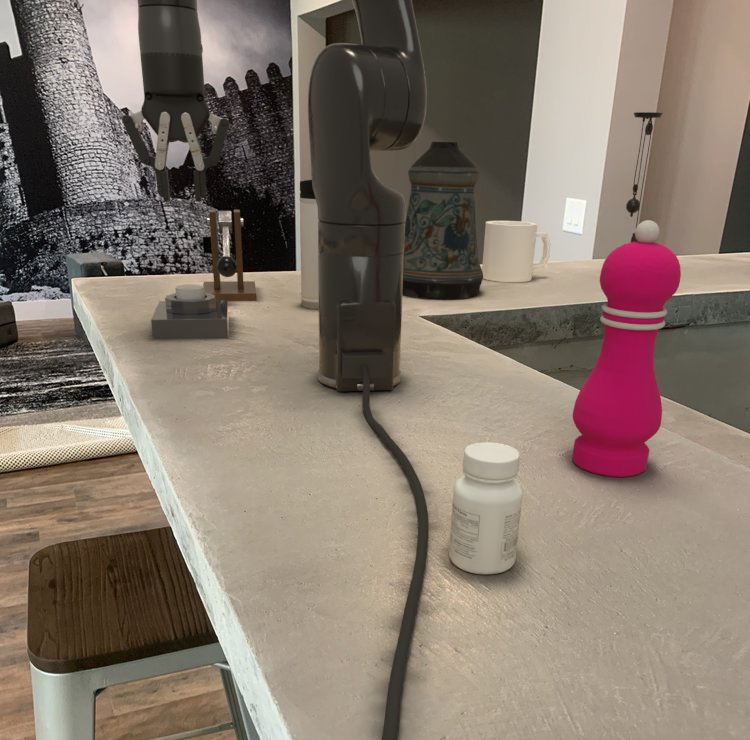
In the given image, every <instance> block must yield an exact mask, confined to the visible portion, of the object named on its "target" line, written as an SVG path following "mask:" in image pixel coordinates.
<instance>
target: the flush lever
mask: <svg viewBox="0 0 750 740" xmlns="http://www.w3.org/2000/svg"><path fill="white" fill-rule="evenodd" d="M217 216H218V219H217V220H218V221H217V222H218V233H219V234H221V235H222V257H219V261H218V263H217V270H218V272H219V273H220V276H222V277H225V278H231V277H233V276H234V275H236V274H237V262H236V260H235V259H234V258H233V257H231V244H230V242H231V240H230V234H233V232H234V231H233V215H232V210H217Z"/></svg>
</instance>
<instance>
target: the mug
mask: <svg viewBox="0 0 750 740" xmlns="http://www.w3.org/2000/svg"><path fill="white" fill-rule="evenodd" d="M484 227H485V228H484V240H483V252H482V264H481V269H482V272H483V279H484V280H486V281H491V282H500V283H526V282H530V281H532V279H533V270H545V269H546V267H547V265H548V262H549V260H550V257H551V245H552V244H551V241H550V239H549V234H548V233H547V232H543V231H540V232H539V231H538V223H536V222H531V221H521V220H487V221H485V226H484ZM537 238H541V240H542V241H541V242H542V244H543V245H542V256H541V258H540V261H539V263H534V258H535V251H536V250H535V249H536V242H537V241H536V240H537ZM483 279H482V280H483Z"/></svg>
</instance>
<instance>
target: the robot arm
mask: <svg viewBox="0 0 750 740" xmlns="http://www.w3.org/2000/svg"><path fill="white" fill-rule="evenodd" d="M351 2H352V6H353V8H354V11H355V16H356V19H357V20H356V21H357V25H358V30H359V35H360V42H361V44H357V43H349V42H336V43H335V42H334V43H331V44H328V45H326V46H325V47H323V49H321V51H320V52H318V54H317V56H316V57H315V59H314V62H313V64H312V67H311V69H310V74H309V79H308V85H307V86H308V88H307V123H308V124H307V125H308V137H309V140H308V141H309V155H310V173H311V180H312V186H313V191H314V195H315V198H316V202H317V207H318V285H319V309H318V372H317V374H318V377H317V378H318V381H319V382H320V383H321V384H323V385H324V386H327V387H330V388H334V389H335V390H336V391H337V392H362V400H361V401H362V411H363V416H364V418H365V420H366V422H367V423H368V426H370V427H371V428H372V429H373V430H374V431H375V432H376V433H377V434H378V436H379V437H380V439H381V440H382V441H383V442H384V444H385V445H386V446H387V448H388V449H389V450H390V451H391V452H392V453H393V454H394V456H395V457H396V458H397V460H398V462H399V463H400V464H401V466H402V468H403V469H404V472H405V473H406V475H407V477H408V479H409V482H410V484H411V486H412V490H413V494H414V498H415V504H416V509H417V520H418V527H417V539H416V540H417V541H416V542H417V543H416V544H417V545H416V550H415V551H416V553H415V559H414V566H413V571H412V576H411V580H410V585H409V588H408V593H407V597H406V601H405V605H404V610H403V614H402V619H401V625H400V630H399V634H398V638H397V642H396V647H395V650H394V651H395V652H394V655H393V656H394V657H393V660H392V666H391V670H390V675H389V682H388V687H387V696H386V701H385V702H386V703H385V713H384V720H383V726H382V727H383V728H382V734H381V735H382V736H381V740H398V737H399V729H400V727H399V726H400V718H401V708H402V707H401V706H402V696H403V695H402V694H403V685H404V679H405V673H406V667H407V662H408V657H409V651H410V647H411V643H412V636H413V631H414V627H415V626H414V625H415V620H416V614H417V610H418V609H417V608H418V604H419V599H420V594H421V590H422V586H423V581H424V577H425V576H424V575H425V572H426V571H425V570H426V565H427V556H428V544H429V543H428V541H429V513H428V506H427V501H426V497H425V493H424V489H423V487H422V484H421V480H420V479H419V477H418V475H417V473H416V470H415V469H414V467H413V465H412V463H411V462H410V460H409V458H408V457H407V455H406V454H405V452H403V451H404V450H402V449H401V448H400V447H399V445H398V444H397V443H396V442H395V441H394V440H393V439H392V437H391V436H390V435H389V434H388V432H387V431H386V430H385V429H384V427H383V426H382V425H381V424H380V423H379V422H378V421H377V420H376V419H375V418H374V417H373V415H372V410H371V406H370V405H371V404H370V397H371V396H370V395H371V391H372V392H373V391H393V390H394V386H396V385H398V384H400V382H401V376H402V375H401V351H402V348H401V347H402V345H401V344H402V322H403V320H402V319H403V316H402V315H403V296H404V295H403V268H404V245H405V223H406V217H407V202H406V197H405V196H404V194H403V193H402V192H401V191H399V190H398V189H396V188H394V187H391V186H389V185H388V184H386V183H385V182H383V181H382V180H381V179H380V178H379V176H377V174H376V173H375V172H374V169H373V166H372V159H371V151H375V152H376V151H383V152H385V151H386V152H388V151H391V152H392V151H401V150H405V149H407V148H409V147H411V146H412V145H413V144H414V143H415V142H416V140H417V139H418V137H419V136H420V134H421V132H422V129H423V127H424V123H425V119H426V114H427V106H428V105H427V104H428V103H427V102H428V100H427V98H428V91H427V90H428V89H427V78H426V70H425V64H424V58H423V53H422V48H421V42H420V36H419V31H418V26H417V21H416V16H415V10H414V4H413V0H351ZM137 7H138V9H137V11H138V13H137V14H138V15H137V17H138V18H137V33H138V43H139V44H138V45H139V56H140V65H141V67H140V68H141V76H142V77H141V78H142V87H143V103H142V106H141V109H140V111H137V112H135V113H133V114H129V115H128V114H125V115H124V116H122V118H121V121H122V124H123V126H124V129H125V130H126V132H127V135H128V137H129V139H130V141H131V143H132V145H133V148H134V150H135V153H136V155H137V157H138V159H139V161H140V163H141V164H142V165H145V166H148V167H150V168H152V169H153V170H154V171H155V178H156V188H157V189H156V191H157V194H158V196H159V197H163V198H162V199H163V201H164V202H170V201H171V192H170V182H169V170H168V169H167V161H168V160H167V159H168V152H169V147H170V146H169V145H170V143H175V142H181V143H184V144H185V143H187V144H188V147H189V148H188V149H189V151H190V154H191V158H192V161H193V164H194V171H193V182H194V194H195V195H194V196H195V202H199V203H200V202H202V199H203V198H205V197H206V194H207V183H206V170H208V169H210V168H212V167H215V166H217V165H218V163H219V160H220V157H221V153H222V152H223V151H222V150H223V147H224V143H225V140H226V137H227V133H228V130H229V127H230V121H229V119H228V118H226V117H220V116H218V115H216V114H213V113H212V112H211V111H210V108H209V107H208V104H207V101H206V92H205V78H204V77H205V76H204V75H205V74H204V62H203V61H204V60H203V51H204V49H203V44H202V32H201V26H200V21H199V15H198V1H197V0H137ZM144 120H145V121H146V123H147V124H148V125H149V127H150V128H151V129H152V130H153V132H154V133H155V134H156V135H157V141H156V149H155V150H156V151H155V156H153V155H151V154H150V152H149V150H148V148H147V147H148V146H147V145H146V143H145V141H144V139H143V136H142V134H141V132H142V131H143V129H144V124H143V121H144ZM208 121H209V122H210V124H211V132H212V133H213V134H215V136H214V140H213V143H212V147H211V150H210V154H209V156H207V157H203V153H202V149H201V145H200V142H199V136H200V134H201V133H202V131H203V130H204V128H205V126H206V125H207V123H208Z"/></svg>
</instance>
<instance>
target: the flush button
mask: <svg viewBox="0 0 750 740" xmlns="http://www.w3.org/2000/svg"><path fill="white" fill-rule="evenodd" d="M174 289H175V293H176V299H182V300H196V299H203V298H205V287H204V286H203V284H194V283H193V284H191V283H190V284H189V283H188V284H180V285H176V286H175V287H174Z"/></svg>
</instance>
